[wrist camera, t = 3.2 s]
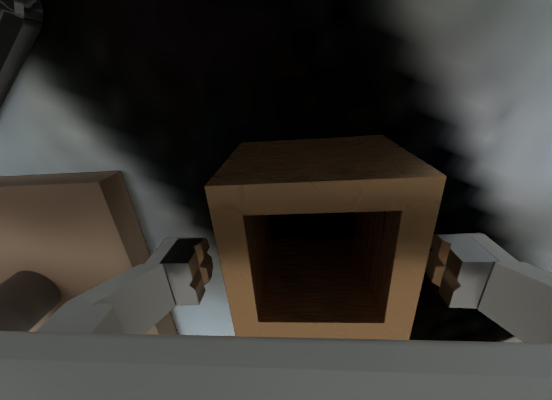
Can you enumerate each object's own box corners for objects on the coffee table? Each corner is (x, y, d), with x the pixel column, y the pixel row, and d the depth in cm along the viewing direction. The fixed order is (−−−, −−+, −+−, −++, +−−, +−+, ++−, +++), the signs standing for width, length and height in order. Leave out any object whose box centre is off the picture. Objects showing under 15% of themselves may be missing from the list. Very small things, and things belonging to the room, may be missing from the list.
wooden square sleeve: (241, 142, 11) (204, 186, 7) (382, 134, 11) (446, 176, 6) (255, 253, 14) (236, 339, 9) (369, 251, 13) (408, 341, 9)
